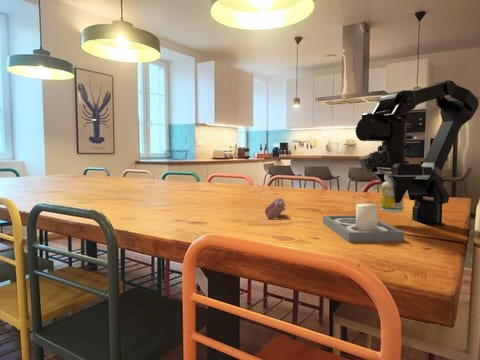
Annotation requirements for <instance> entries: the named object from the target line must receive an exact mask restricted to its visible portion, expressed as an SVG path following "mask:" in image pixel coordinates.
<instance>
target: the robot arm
mask: <svg viewBox="0 0 480 360" xmlns="http://www.w3.org/2000/svg"><path fill="white" fill-rule="evenodd" d="M447 96H449V97H447ZM432 100H435V103H436V107H437V108H439V110H440V111H439V113H440V117H441V122H440V125H439V128H438V129H437V132H436V134H435V136H434V139H433V141H432V143H431V145H430V148H429V149H428V152H427V155H426V157H425V159H424V160H423V163H422V164H421V163H415V162H414V163H411V162H410V161H409V160H408V161H407V160H406V153H407V152H406V150H410V144H407V125H409V124H413V120H412V119H411V118H410V117H409V116H408V115H407V113H410V112H411V111H413V110H414V109H416V107H417V106H418V105H420V104H423V103H427V102H429V101H432ZM478 108H479V99H478V98H477V96H476V95H475V94H474V93H473V92H472V91H471V90H469V89H467V88H464V87H463V86H460V85H458V84H456V82H454V81H453V80H450V79H448V80H444V81H438V82H435V83H433V84H431V85H426V86H424V87H421V88H417V89H413V90H412V89H409V90H408V89H407V90H400V91H394V92H390V93H389V92H388V93H384V94H382V95H380V97H379V100H378V103H377V104H376V107H375V108H374V109H373V111H372V112H368V113H362V114H361V119H360V120H358V122H357V123H356V127H355V130H354V132H355V135H356V136H355V137H356V138H357V139H358V140H359V141H361V142H381V145H378V146H377V150H376V151H373V152H370V153H369V154H366V155H364V156H361V157H359V158H358V162H359V164H360V167H361V170H363V171H365V170H366V171H367V173H372V176H374V177H375V178H377V179H378V181H379V184H380V188H381V187H382V183H384V182H386V180H385V179H384V176H385V174H392V175H394V176H388V177H389V178H390V180H391V181H392V182H393V188H394V198H395V203H400V202H401V200H402V198H403V199H404V196H405V195H406V193H407V195H408V197H409V198H408V199H409V201H414V202H413V203H414V204H413V206H412V209H411V210H412V215H411V217H412V218H411V221H414V222H416V223H420V224H422V225H425V226H446V223H445V222H443V205H445V204H448V203H449V201H450V194H449V192H448V190H447V189H446V188H445V187H444V183H445V177H444V173H443V169H444V166H445V165H446V162H447V159H448V158H449V156H450V153H451V151H452V148H453V146H454V144H455V141H456V139H457V137H458V135H459V133H460V131H461V129H462V126H464V125H465V124H467V122H469V121H470V120H471V119H472V118H473V117H474V115H475V114H476V112H477V110H478Z"/></svg>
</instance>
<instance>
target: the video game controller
mask: <svg viewBox="0 0 480 360" xmlns="http://www.w3.org/2000/svg"><path fill="white" fill-rule="evenodd" d="M285 211H286V203H285V199H283V198H282V197H276V198H275V199H274V200H273V202H272V203H270V204H269V205H268V206H267V207H266V208H265V209H264V213H265V215H266V218H267V219H268V220H269V219H275V218H279V216H280V215H281V214H282V212H285Z"/></svg>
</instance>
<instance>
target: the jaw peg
mask: <svg viewBox="0 0 480 360" xmlns="http://www.w3.org/2000/svg"><path fill="white" fill-rule="evenodd" d="M378 206H379V205H377V204H374V203H373V204H372V203H357V204H355V215H356V231H377V220H378V208H379V207H378Z"/></svg>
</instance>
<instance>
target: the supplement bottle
mask: <svg viewBox="0 0 480 360" xmlns="http://www.w3.org/2000/svg"><path fill="white" fill-rule="evenodd" d="M388 176H394V175H392V174H385V176H384V179H385V180H386V182H384V183H382V187H381V186H380V188H381V193H380V194H381V196H380V197H381V199H380V210H381V212H384V213H393V214H394V213H402V212H403V211H404V197H403V198H402V200H401V202H400V203H395V198H394V188H393V182H392V181H391V180H390V178H389V177H388Z"/></svg>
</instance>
